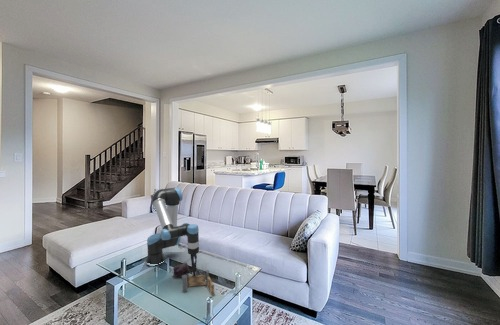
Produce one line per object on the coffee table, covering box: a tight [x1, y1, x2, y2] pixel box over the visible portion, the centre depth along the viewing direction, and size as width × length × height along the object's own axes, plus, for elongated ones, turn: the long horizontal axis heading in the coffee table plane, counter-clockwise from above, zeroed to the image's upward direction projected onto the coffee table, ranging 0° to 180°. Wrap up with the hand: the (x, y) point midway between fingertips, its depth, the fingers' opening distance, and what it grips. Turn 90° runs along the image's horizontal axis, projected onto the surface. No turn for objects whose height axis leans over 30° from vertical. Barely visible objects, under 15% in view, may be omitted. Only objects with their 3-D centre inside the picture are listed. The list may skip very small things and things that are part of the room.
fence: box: [206, 275, 215, 297], centre depth 152 cm, size 12×1×7 cm, turn 26°
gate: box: [187, 274, 206, 288], centre depth 158 cm, size 12×1×7 cm, turn 97°
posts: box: [181, 269, 210, 294], centre depth 156 cm, size 3×18×11 cm, turn 116°
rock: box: [173, 261, 190, 278], centre depth 172 cm, size 12×9×10 cm
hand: (194, 279), depth 160 cm, fingers closed
